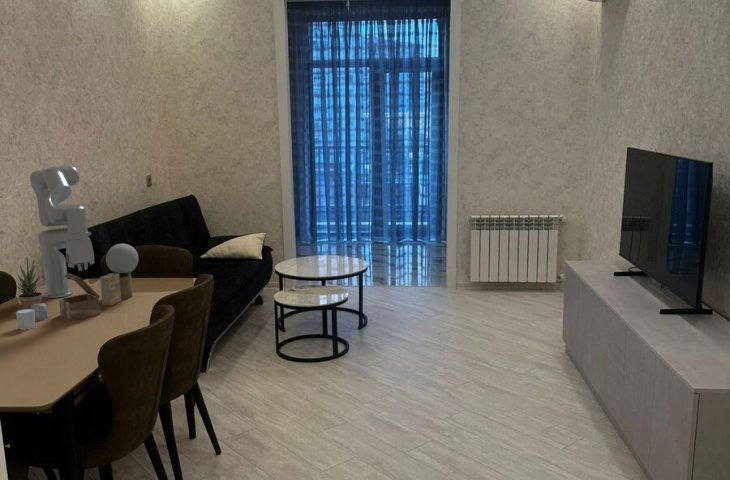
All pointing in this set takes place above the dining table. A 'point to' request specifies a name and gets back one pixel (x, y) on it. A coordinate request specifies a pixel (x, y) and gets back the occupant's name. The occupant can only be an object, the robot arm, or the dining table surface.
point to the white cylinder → (26, 318)
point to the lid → (82, 284)
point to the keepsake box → (79, 306)
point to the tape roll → (40, 311)
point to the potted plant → (29, 289)
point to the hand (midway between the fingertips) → (83, 279)
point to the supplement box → (110, 289)
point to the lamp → (123, 266)
